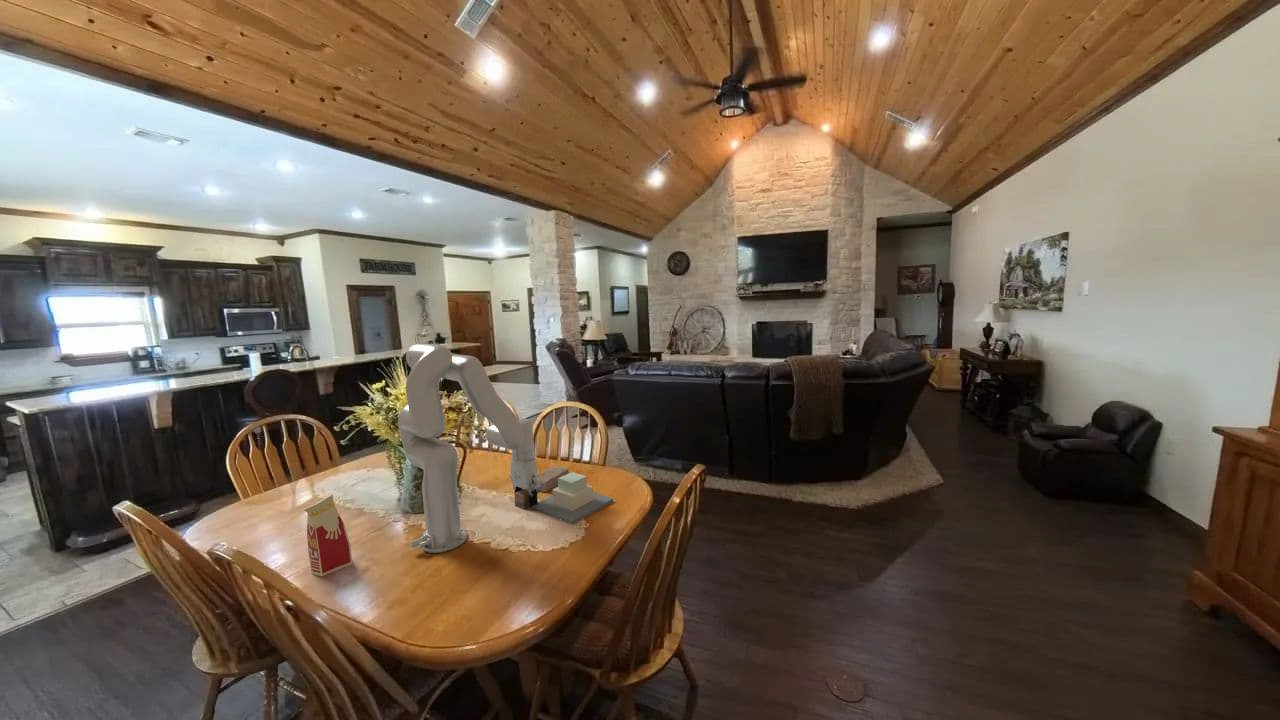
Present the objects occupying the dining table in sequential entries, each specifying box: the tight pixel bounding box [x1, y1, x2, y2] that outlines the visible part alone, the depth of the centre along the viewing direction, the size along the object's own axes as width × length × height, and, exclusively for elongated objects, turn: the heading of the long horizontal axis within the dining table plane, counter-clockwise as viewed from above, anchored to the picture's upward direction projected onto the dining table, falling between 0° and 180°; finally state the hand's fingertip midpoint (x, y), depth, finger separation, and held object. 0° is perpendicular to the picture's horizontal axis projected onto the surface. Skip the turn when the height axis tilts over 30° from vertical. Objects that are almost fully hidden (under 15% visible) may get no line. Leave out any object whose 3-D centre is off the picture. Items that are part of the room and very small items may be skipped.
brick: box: [531, 465, 570, 493], centre depth 178 cm, size 17×8×5 cm, turn 155°
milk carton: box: [302, 493, 353, 577], centre depth 124 cm, size 9×9×20 cm
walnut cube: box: [513, 489, 531, 511], centre depth 159 cm, size 5×5×5 cm
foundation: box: [531, 484, 614, 525], centre depth 158 cm, size 20×20×6 cm
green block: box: [557, 471, 588, 494], centre depth 157 cm, size 7×7×4 cm
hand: (526, 502), depth 159 cm, fingers open, 7 cm apart
